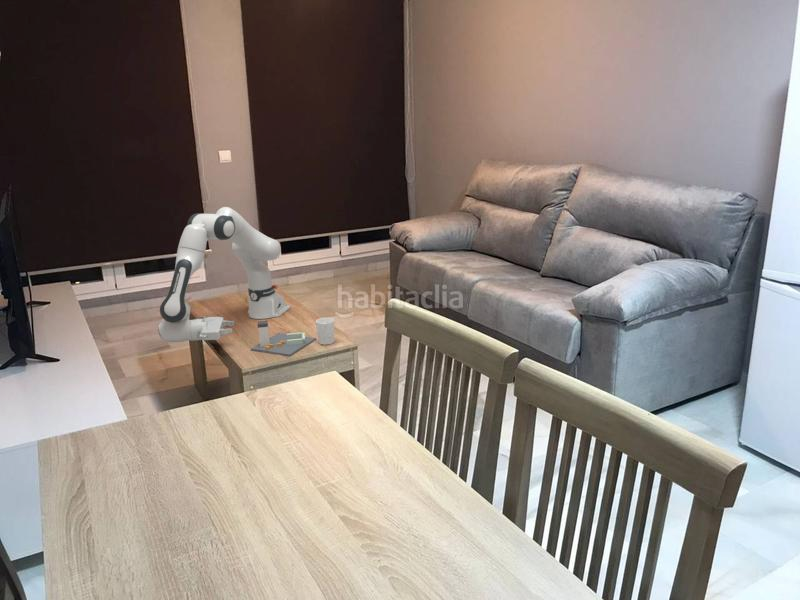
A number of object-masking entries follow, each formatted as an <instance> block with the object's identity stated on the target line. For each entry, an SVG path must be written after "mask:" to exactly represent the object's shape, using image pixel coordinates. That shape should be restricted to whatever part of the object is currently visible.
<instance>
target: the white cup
mask: <svg viewBox="0 0 800 600" xmlns="http://www.w3.org/2000/svg"><path fill="white" fill-rule="evenodd" d="M315 325H316V335H317V338H318V344H319V343H320V345H321V344H329V345H332V344H333V343H335V318H332V317H321V318H317V319H316V320H315ZM331 343H332V344H331Z"/></svg>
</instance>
